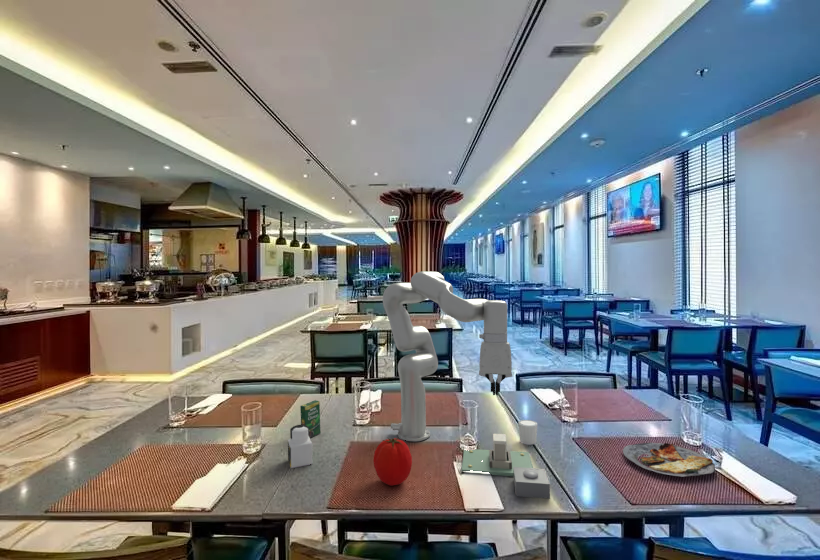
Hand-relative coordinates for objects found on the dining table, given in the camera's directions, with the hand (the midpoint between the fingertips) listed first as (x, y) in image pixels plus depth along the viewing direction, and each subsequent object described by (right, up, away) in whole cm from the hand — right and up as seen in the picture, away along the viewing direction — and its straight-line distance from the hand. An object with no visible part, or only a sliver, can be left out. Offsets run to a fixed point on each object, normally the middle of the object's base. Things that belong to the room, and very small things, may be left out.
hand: (495, 394), depth 132 cm
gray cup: (+16, -23, +17) cm, 33 cm away
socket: (+1, -23, -1) cm, 23 cm away
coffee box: (-67, -24, +26) cm, 76 cm away
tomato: (-33, -24, -11) cm, 42 cm away
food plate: (+55, -22, -2) cm, 60 cm away
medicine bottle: (-65, -24, +4) cm, 69 cm away
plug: (+1, -22, -1) cm, 22 cm away
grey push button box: (+7, -23, -16) cm, 29 cm away
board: (0, -23, 0) cm, 23 cm away
